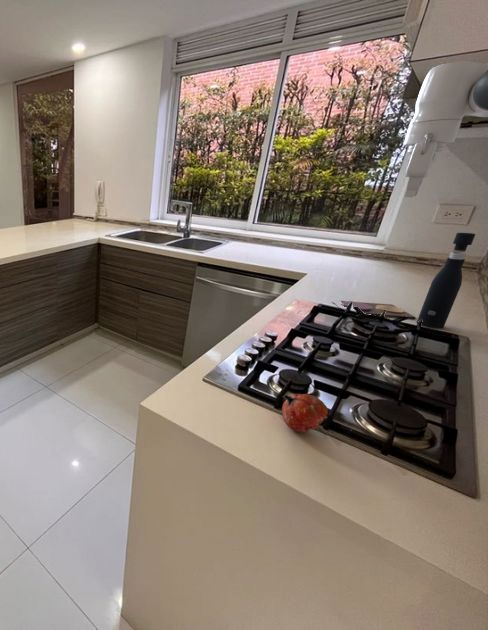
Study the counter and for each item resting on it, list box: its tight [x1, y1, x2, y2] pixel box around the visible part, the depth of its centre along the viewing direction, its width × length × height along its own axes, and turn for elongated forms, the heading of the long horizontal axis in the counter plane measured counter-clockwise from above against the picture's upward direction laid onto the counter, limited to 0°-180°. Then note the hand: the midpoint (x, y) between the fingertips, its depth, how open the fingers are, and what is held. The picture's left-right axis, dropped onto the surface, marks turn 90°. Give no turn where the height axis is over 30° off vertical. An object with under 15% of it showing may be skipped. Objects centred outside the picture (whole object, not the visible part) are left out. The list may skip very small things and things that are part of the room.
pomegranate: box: [281, 393, 329, 436], centre depth 64 cm, size 7×7×10 cm
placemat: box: [340, 300, 416, 320], centre depth 127 cm, size 20×14×1 cm
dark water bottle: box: [416, 232, 477, 330], centre depth 107 cm, size 6×6×30 cm
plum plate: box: [341, 300, 372, 311], centre depth 128 cm, size 9×9×1 cm
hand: (410, 196), depth 87 cm, fingers open, 8 cm apart
